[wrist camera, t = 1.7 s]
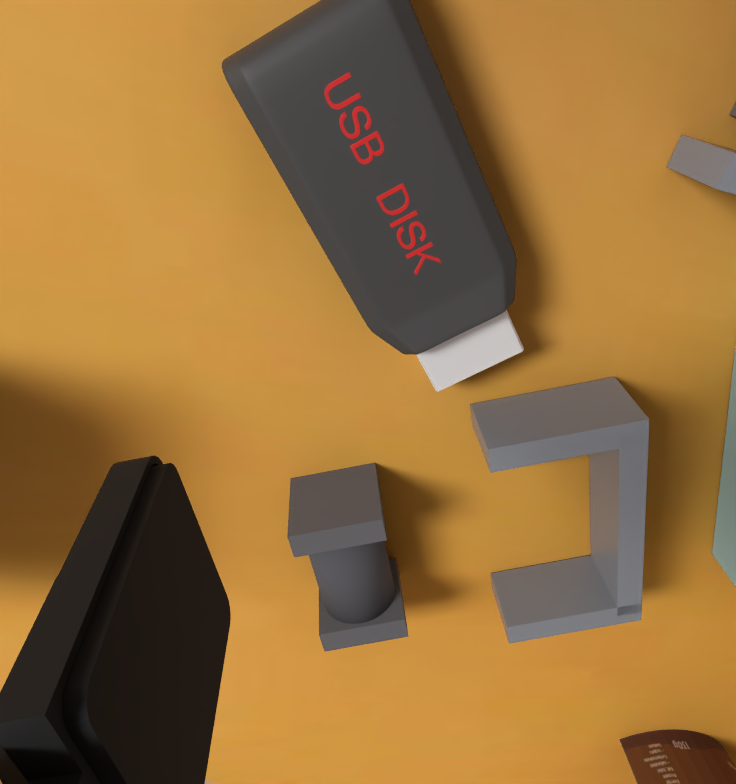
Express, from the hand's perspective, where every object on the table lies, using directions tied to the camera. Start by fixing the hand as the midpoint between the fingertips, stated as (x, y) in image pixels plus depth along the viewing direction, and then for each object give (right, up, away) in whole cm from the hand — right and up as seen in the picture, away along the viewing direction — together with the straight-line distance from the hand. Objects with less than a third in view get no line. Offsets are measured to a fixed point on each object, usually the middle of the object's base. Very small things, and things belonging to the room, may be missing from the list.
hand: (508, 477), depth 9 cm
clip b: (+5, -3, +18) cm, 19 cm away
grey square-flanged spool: (-3, -5, +18) cm, 19 cm away
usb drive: (-1, +8, +12) cm, 14 cm away
